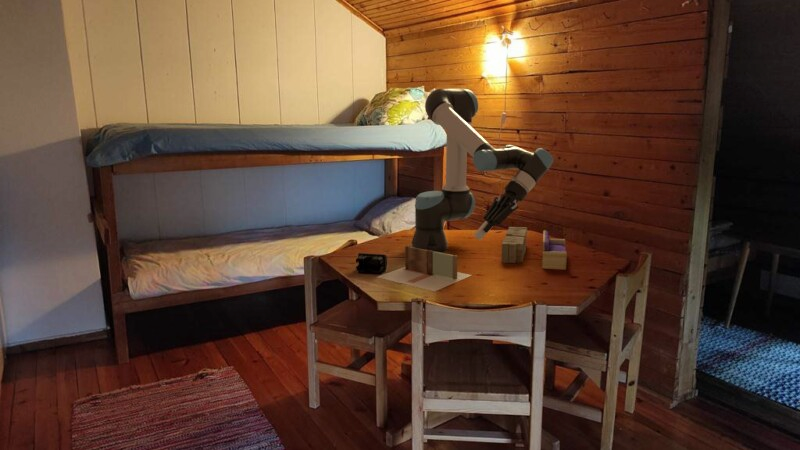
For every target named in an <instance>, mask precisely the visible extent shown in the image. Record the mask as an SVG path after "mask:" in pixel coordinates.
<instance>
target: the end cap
mask: <svg viewBox="0 0 800 450" xmlns="http://www.w3.org/2000/svg"><path fill="white" fill-rule="evenodd" d="M357 256H358V257H357V258H355V263H356V264H357V265H356V266H355V269H356V271H357V272H356V274H359V275H361V274H363V275H374V276H375V275H376V276H380V275H383V273H385V272H386V270H387V266H388V257H387V255H386V254H382V253H365V252H364V253H362V252H358V254H357Z"/></svg>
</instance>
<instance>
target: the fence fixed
mask: <svg viewBox="0 0 800 450" xmlns="http://www.w3.org/2000/svg"><path fill="white" fill-rule="evenodd" d="M404 254H405V255H404V261H405V265H404V267H405V269H406V270H412V271H417V272H421V273H425V274H428V275H433V251H432V250H429V251H428V250H424V249H419V248H414V247H411V245H410V246H409V245H407V246H406V245H405V247H404Z"/></svg>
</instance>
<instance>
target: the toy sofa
mask: <svg viewBox="0 0 800 450" xmlns="http://www.w3.org/2000/svg"><path fill="white" fill-rule="evenodd" d="M542 233H543V234H542V235H543V236H542V261H541V262H542V263H541V266H542V267H541V268H542V269H548V270H549V269H550V270H567V259H568V258H567V257H568V253H567V249H566V239H565V238H550V234H549V232H548V231H547V230H543V231H542Z"/></svg>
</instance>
